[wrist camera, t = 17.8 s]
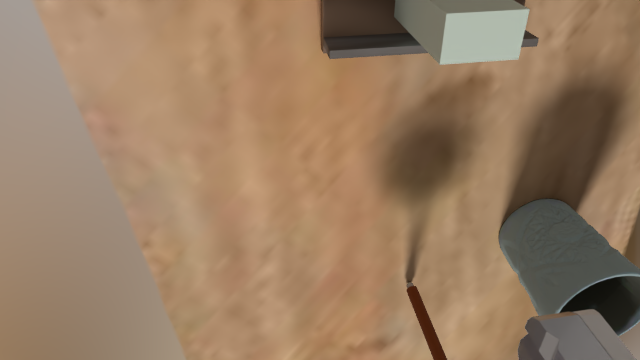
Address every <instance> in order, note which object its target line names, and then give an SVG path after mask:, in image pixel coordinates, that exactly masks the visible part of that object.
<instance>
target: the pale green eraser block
mask: <svg viewBox="0 0 640 360" xmlns="http://www.w3.org/2000/svg"><path fill="white" fill-rule="evenodd" d="M529 10H530V9H528V8H527V7H525V6H523V5H521V4H519V3H518V2H516V1H514V0H395V12H394V17H395V18H396V19H397V20H398V21H399V22H400V23H401V25H402V26H403V27H404V28H405V29H406V30H407V31H408V32H409V33H410V34H411V35H412V36H413V37H414V38H415V39H416V40H417V41H418V42H419V43H420V44H421V45H422V47H423V48H424V49H425V50H426V51H427V52H428V53H429V54H430V55H431V56H432V57H433V58H434V59H435V60H436V61H437V62H438V63H439V64H440V65H441V64H456V63H471V62H486V61H501V60H516V59H518V58H519V54H520V50H521V45H522V41H523V36H524V32H525V27H526V23H527V19H528V14H529Z"/></svg>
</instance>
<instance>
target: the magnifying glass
mask: <svg viewBox="0 0 640 360" xmlns="http://www.w3.org/2000/svg"><path fill="white" fill-rule="evenodd" d="M407 288H408V289H407V293H408V296H409V298H410V301H411V303H412V306H413V308H414V311H415V313H416V316H417V318H418V321H419V323H420V326H421V329H422V331H423V334H424V336H425V339H426V341H427V344H428V346H429V349H430V351H431V354H432V356H433V359H434V360H447V358H446V356H445V353H444V351H443V349H442V346H441V344H440V342H439V339H438V337H437V334H436V332H435V330H434V327H433V325H432V323H431V320H430V318H429V316H428V313H427V311H426V308H425V306H424V304H423V301H422V299H421V297H420V294H419V292H418V290H417V287H416V286H414V285H413V283H411V282H409V283H408V284H407Z"/></svg>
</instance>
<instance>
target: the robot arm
mask: <svg viewBox="0 0 640 360" xmlns="http://www.w3.org/2000/svg"><path fill="white" fill-rule="evenodd" d="M525 329H526V330H527V332H528V334H527V335H526V336H525V337H523V338H522V339H521V340H520V343H519V347H518V357H519V360H637V359H636V358H635V357H634V356H633V354H632V353H631V352H630V351H629V349H628V348H627V347H626V346H625V344H624V343H623V342H622V341H621V339H620V338H619V337H618V336H617V334H616V333H615V332H614V331H613V329H612V328H611V327H610V326H609V324H608V323H607V322H606V321H605V319H604V318H603V317H602V316H601V314H600V313H599V312H597V311H596V310H594V309H588V310H581V311H575V312H563V313H556V314H549V315H542V316H535V317H531V318H530V319H529V320H527V323H526V326H525Z"/></svg>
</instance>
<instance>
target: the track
mask: <svg viewBox="0 0 640 360" xmlns="http://www.w3.org/2000/svg"><path fill="white" fill-rule="evenodd" d="M514 1H516V2H518V3H519V4H521V5H523V6H524V4H525V0H514ZM394 12H395V0H321V49H322V51H323V53H327V54H328V56H329V58H330V59H337V58H353V57H370V56H386V55H402V54H419V53H428V52H427V51H426V50H425V49H424V48H423V47H422V45H421V44H420V43H419V42H418V41H417V40H416V39H415V38H414V37H413V36H412V35H411V34H410V33H409V32H408V31H407V30H406V29H405V28H404V27H403V26H402V25H401V23H400V22H399V21H398V20H397V19H396V18H395V17H394ZM538 39H539V38H537V37H536V36H534V35H532V34H531V33H529V32H528V31H526V30H525V32H524V36H523V41H522V45H521V47H533V46H537V43H538Z"/></svg>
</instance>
